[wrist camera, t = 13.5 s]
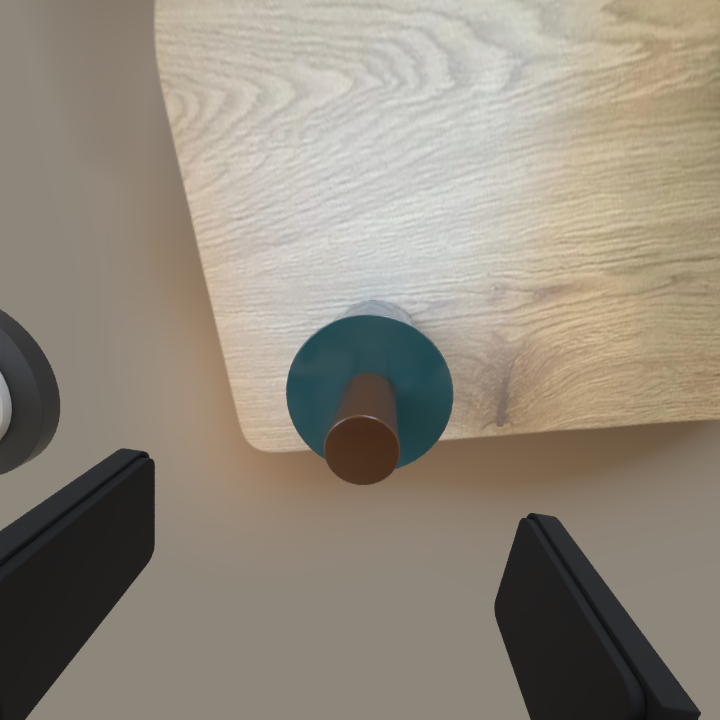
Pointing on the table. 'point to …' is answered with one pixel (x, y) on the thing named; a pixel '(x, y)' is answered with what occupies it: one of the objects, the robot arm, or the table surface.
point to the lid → (369, 395)
